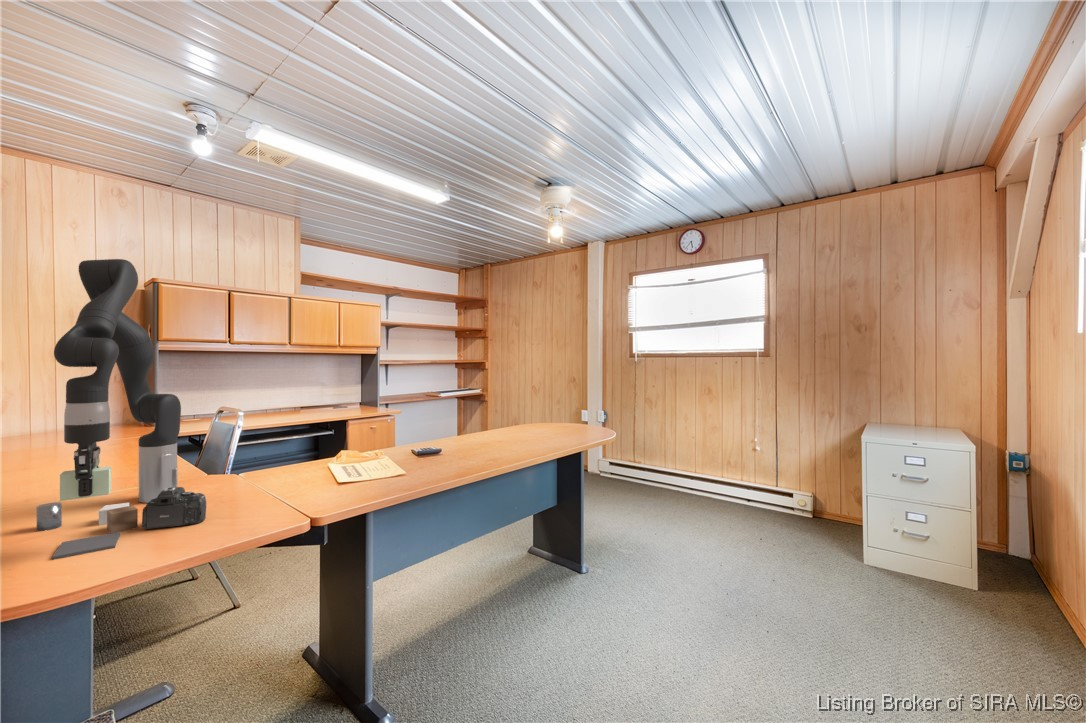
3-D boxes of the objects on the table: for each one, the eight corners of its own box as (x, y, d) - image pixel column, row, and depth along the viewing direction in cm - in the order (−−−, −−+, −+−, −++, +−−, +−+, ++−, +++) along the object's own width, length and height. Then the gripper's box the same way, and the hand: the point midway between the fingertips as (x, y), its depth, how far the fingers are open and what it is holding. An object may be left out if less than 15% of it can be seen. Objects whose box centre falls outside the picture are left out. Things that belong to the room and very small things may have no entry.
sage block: (111, 490, 108) (111, 466, 108) (108, 494, 105) (108, 469, 105) (63, 496, 103) (63, 471, 103) (59, 501, 100) (59, 474, 100)
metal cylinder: (63, 523, 119) (63, 501, 118) (59, 528, 115) (59, 505, 115) (39, 527, 116) (38, 504, 116) (34, 532, 112) (34, 509, 112)
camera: (203, 513, 127) (203, 478, 127) (208, 522, 120) (208, 486, 120) (141, 525, 118) (141, 488, 118) (142, 536, 111) (142, 496, 111)
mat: (120, 534, 112) (120, 531, 112) (114, 547, 104) (114, 545, 104) (62, 544, 105) (62, 541, 105) (52, 559, 98) (52, 556, 98)
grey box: (129, 516, 124) (129, 502, 124) (123, 522, 120) (124, 507, 120) (105, 519, 122) (105, 505, 122) (98, 525, 117) (98, 510, 117)
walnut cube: (132, 523, 119) (132, 505, 119) (137, 527, 116) (137, 509, 116) (107, 529, 115) (107, 510, 115) (111, 533, 112) (111, 514, 112)
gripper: (105, 423, 101) (104, 497, 101) (113, 416, 112) (113, 484, 112) (57, 426, 96) (56, 504, 96) (71, 419, 107) (70, 489, 108)
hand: (87, 493), depth 104 cm, fingers closed on sage block, 4 cm apart
